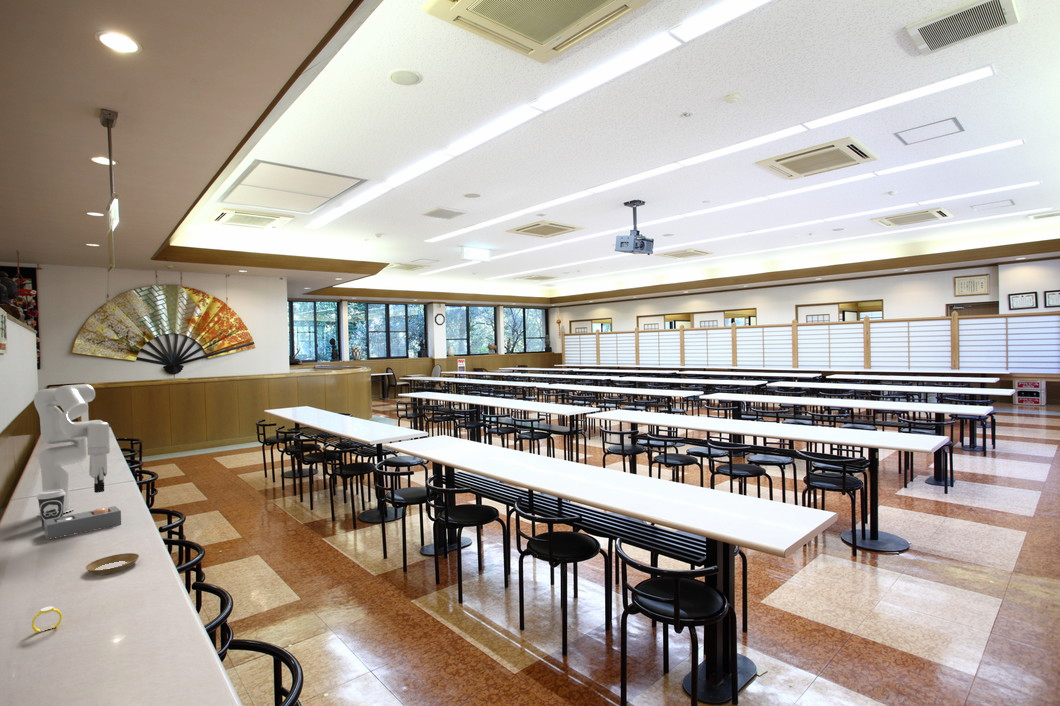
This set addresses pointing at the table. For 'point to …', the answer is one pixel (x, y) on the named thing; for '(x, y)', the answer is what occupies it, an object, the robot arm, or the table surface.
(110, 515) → the plunger housing
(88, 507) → the table surface
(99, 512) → the peach rounded cylinder
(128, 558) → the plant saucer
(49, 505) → the coffee cup
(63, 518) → the metal plunger
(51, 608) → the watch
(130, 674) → the table surface
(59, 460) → the robot arm
